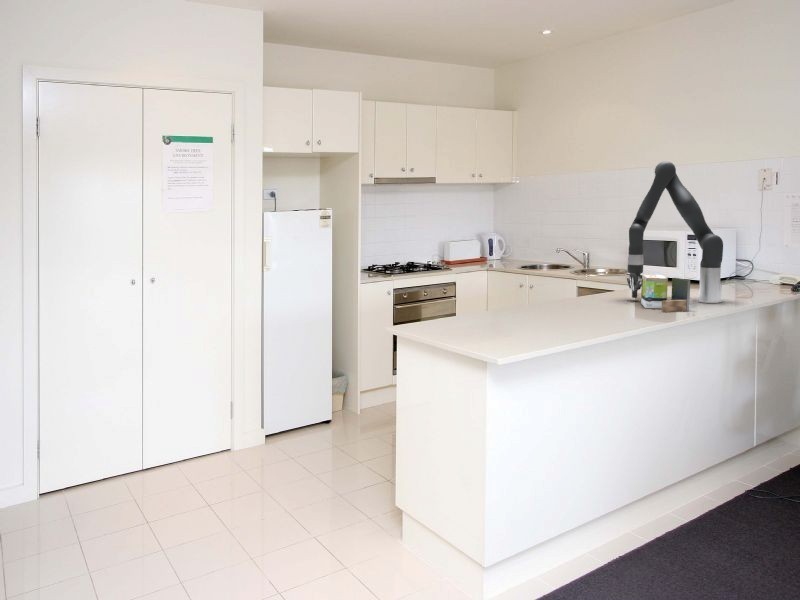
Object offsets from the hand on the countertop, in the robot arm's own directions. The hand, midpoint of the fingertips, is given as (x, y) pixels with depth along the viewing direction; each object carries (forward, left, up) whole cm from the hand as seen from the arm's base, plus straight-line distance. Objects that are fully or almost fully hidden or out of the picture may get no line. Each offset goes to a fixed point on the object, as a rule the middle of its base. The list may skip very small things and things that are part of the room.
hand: (634, 297), depth 352 cm
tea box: (0, +19, -2) cm, 19 cm away
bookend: (-7, +30, -2) cm, 30 cm away
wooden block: (-1, +35, -2) cm, 35 cm away
